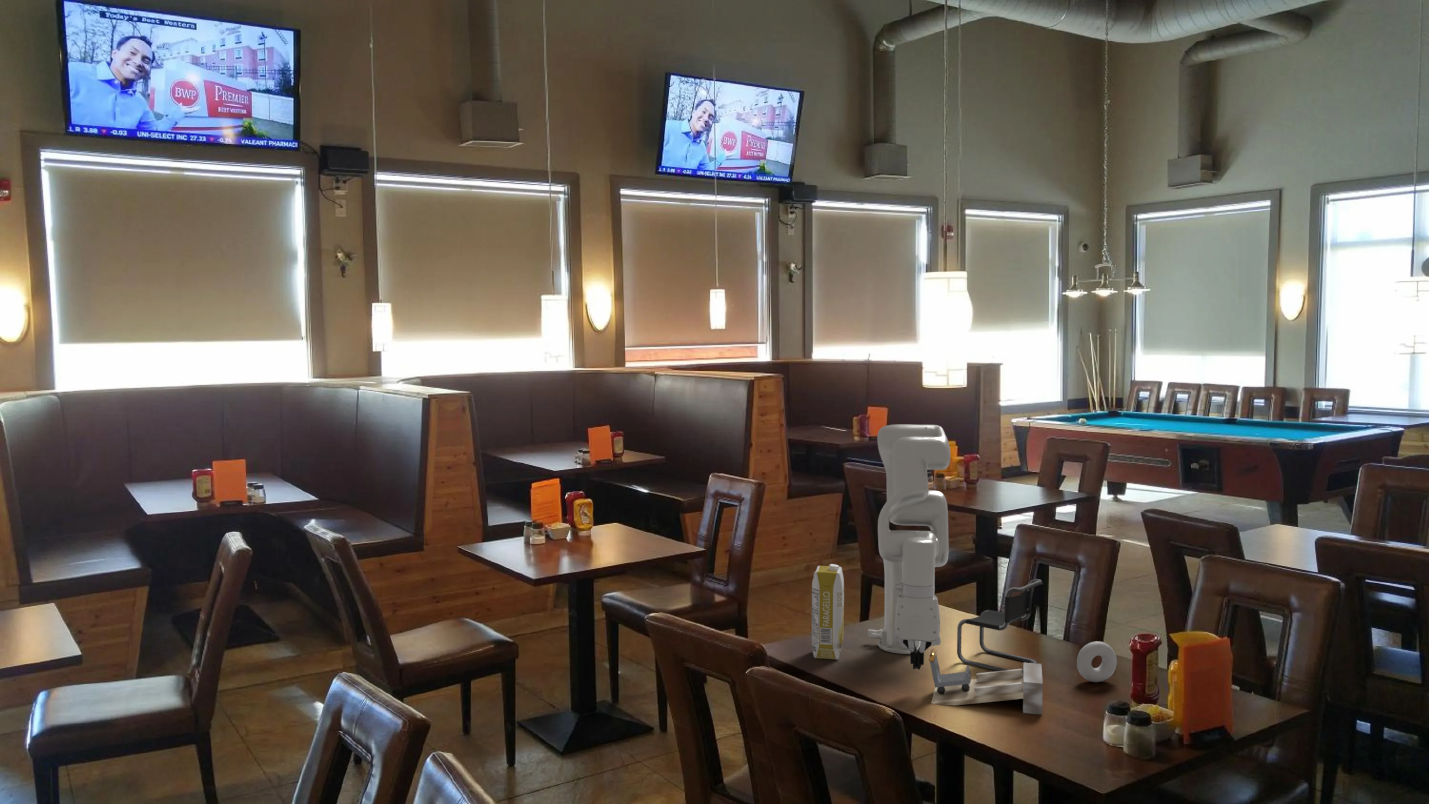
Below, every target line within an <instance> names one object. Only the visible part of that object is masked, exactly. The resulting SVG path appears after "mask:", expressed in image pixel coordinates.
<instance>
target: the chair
mask: <svg viewBox="0 0 1429 804" xmlns="http://www.w3.org/2000/svg"><path fill="white" fill-rule="evenodd" d="M1040 585H1043V581H1042V580H1041V579H1038V578H1035V579H1032V580H1030V581H1029V582H1028V583H1027V584H1026V585H1025V586H1021V587H1017V586H1016V587H1010V588H1008V590H1006V592H1005V596H1004V612H1002V611H998V610H991V609H987V610H984V611H982V613H981V614H980V615H979V616H976V617H972V618H967V619H966V618H963V619H962V620H960V621H959V622H958V623H957V627H956V628H957V630H956V654H957V658H958V659H959V660H960V662H962V663H964V664H965V665H968V666H974V667H978V668H982V669H985V668H986V670H989V671H990V670H991V671H993V672H995V671H1004V670H1009V669H1008V668H1004V667H1000V666H995V665H991V664H987V663H982V662H977V661H974V660H969V659H966V658H965V657H964V656H963V654H962V631H963V630H962V629H963V625H965V624H966V625H971V626H976V627H979V641H978V642H979V645H980V646H979V647H980V648H981V649H982V650H983V652H984V653H987V654H991V655H995V656H999V657H1003V658H1007V659H1012V660H1015V659H1016V661H1021V662H1025V663H1028V662H1029V663H1036V664H1039V663H1038V661H1036V660H1035V659H1033V658H1029V657H1024V656H1019V655H1015V654H1011V653H1007V652H1003V651H997V650H993V649H990V648H987V647H986V645H985V643H984V640H985V639H984V638H985V637H984V636H985V635H984V634H985V633H984V630H985V629H990V630H995V631H1003V630H1006V629H1007V628H1008V627H1009V625H1010V624H1012V623H1014V622H1016V621H1020V622H1023V621H1026V620H1028V619H1029V618H1030V617H1031V615H1032V589H1033V588H1035V587H1038V586H1040ZM1014 592H1015V593H1020V594H1018V595H1016V596H1011V594H1013V593H1014ZM1021 669H1022V674H1023V668H1021Z"/></svg>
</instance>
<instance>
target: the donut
mask: <svg viewBox="0 0 1429 804" xmlns="http://www.w3.org/2000/svg"><path fill="white" fill-rule="evenodd" d="M1097 656H1100V657H1101V663H1100V665H1099V666H1098V667H1093V665H1092V662H1093V660H1094V658H1095V657H1097ZM1117 664H1118V660H1117V655H1116V653H1115V651H1114V649H1113V648H1112V646H1110V645H1109V644H1107V643H1105V642H1103V641H1099V640H1098V641H1097V640H1096V641H1091V642H1088V643H1086V644H1085V645H1084V646H1083V647H1082V648H1081V649H1080V650H1079V652H1078V655H1077V658H1076V667H1077V668H1076V669H1077V670H1078V673H1079V675H1081V677H1083V679H1084V680H1087V681H1089V682H1090V683H1091V682H1092V683H1101V682H1105V681H1106V680H1108V679H1109V678H1111V676H1112V675H1113V674H1114V672H1115V670H1116V668H1117Z"/></svg>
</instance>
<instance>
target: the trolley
mask: <svg viewBox="0 0 1429 804" xmlns="http://www.w3.org/2000/svg"><path fill="white" fill-rule="evenodd" d="M938 661H939V659H938V656H937V650H936V648H931V650H930V654H929V657H928V662H929V664H930V668H931V669H930V670H931V675H932V679H933V684H934V689H935V688H936V687H938V688H937V692H938V694H940V695H943V694H944V693H945V688H944V687H945V686H955V685H962V691H964V692H968V691H969V689H970V686H969V685H968V684H970V682H971V679H972V672H971V667H970V665H966V668H965V671H961V672H959V671H958V672H951V673H943V674H941V671H940V666H939V662H938Z"/></svg>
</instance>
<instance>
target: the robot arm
mask: <svg viewBox="0 0 1429 804" xmlns="http://www.w3.org/2000/svg"><path fill="white" fill-rule="evenodd" d="M877 449H878V453H879V456H880V460H881V462H882V464H883V466H884V470H885V473H886V474H885V476H886V502H885V503H884V505H883V507H882V508H881V510H880V513H879V514H878V515H879V516H878V519H877V537H878V538H877V539H878V540H877V541H878V552H879V555H880V557H881V559H882V560H883V568H884V569H883V570H884V623H883V624H884V625H883V626H884V627H883V628H880V629H879V630H878V629H873V628H872V629H871V628H869V629H867V636H868V637H870V639H879V640H878V642H877V645H878V647H879V649H880V650H883V651H885V652H888V653H893V654H899V655H909V657H910V665H912V669H913V670H921V667H922V666H924V664H925V651H927V650H928V649H929V648H930V647H932V646H933V647H934V646H939V645H941V642H942V641H941V640H942V639H941V636H940V633H941V620H940V619H941V617H940V616H941V615H940V607H939V606H940V605H939V601H938V600H939V599H938V596H936V595H935V590H936V589H935V588H936V587H935V585H936V584H935V577H936V576H935V573H936V572H935V568H941V567H943V566H945V565H946V564H947V563H948V560H949V553H950V551H949V547H950V545H949V512H948V502H947V498H946V496H945V495H944V493H943V492H941V491H939V490H934V489H929V481H928V480H929V479H928V470H929V471H931V470H934V471H938V470H939V471H940V470H941V471H943V470H946V469H947V468H948V467H949V466H950V463H951V447H950V443H949V440H948V436H947V435H946V433H945V430H944V428H942V426H940V425H938V424H910V423H909V424H906V423H905V424H904V423H903V424H899V423H898V424H897V423H896V424H889V425H888V424H887V425H885V426H882V427H881V428H880V429H879V430H878V433H877ZM890 523H892V524H893V525H897V526H898V525H899V526H919V527H920V526H924V527H925V526H926V527H928V528H929V529H930V530H906V529H905V530H903V529H902V530H901V529H900V530H899V529H898V530H897V529H896V530H891V529H890Z"/></svg>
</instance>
